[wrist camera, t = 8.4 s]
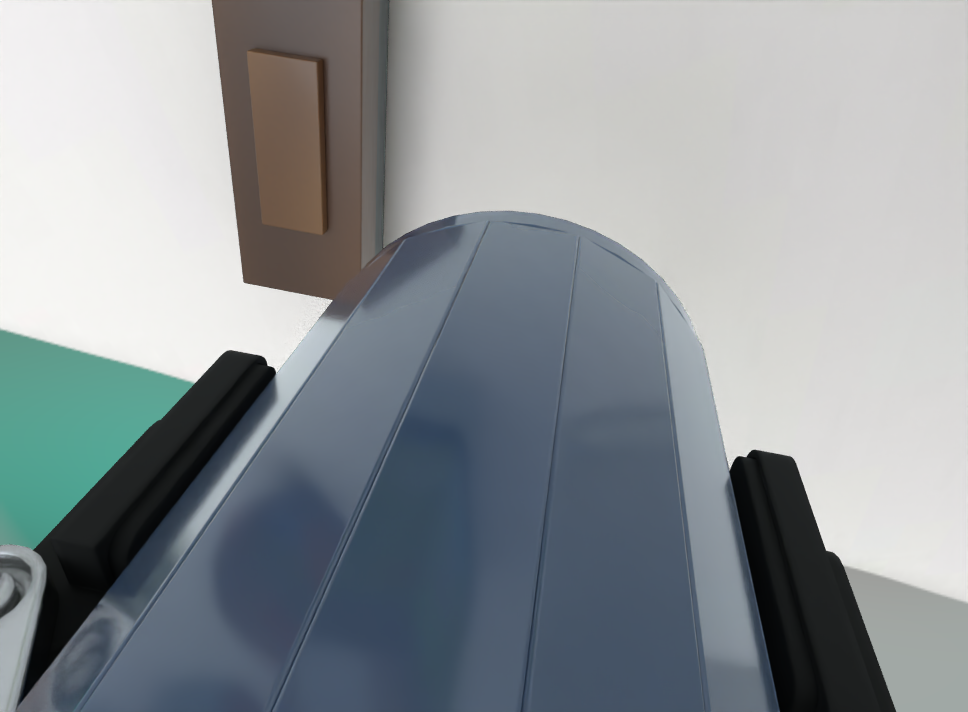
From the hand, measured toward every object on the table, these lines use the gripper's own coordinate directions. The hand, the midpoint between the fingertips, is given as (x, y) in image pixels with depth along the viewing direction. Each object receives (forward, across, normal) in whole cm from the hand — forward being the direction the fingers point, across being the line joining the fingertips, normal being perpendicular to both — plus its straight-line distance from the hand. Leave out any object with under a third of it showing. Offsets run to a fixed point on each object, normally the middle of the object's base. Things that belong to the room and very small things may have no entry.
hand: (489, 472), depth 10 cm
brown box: (+18, +9, 0) cm, 20 cm away
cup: (+2, 0, 0) cm, 2 cm away
